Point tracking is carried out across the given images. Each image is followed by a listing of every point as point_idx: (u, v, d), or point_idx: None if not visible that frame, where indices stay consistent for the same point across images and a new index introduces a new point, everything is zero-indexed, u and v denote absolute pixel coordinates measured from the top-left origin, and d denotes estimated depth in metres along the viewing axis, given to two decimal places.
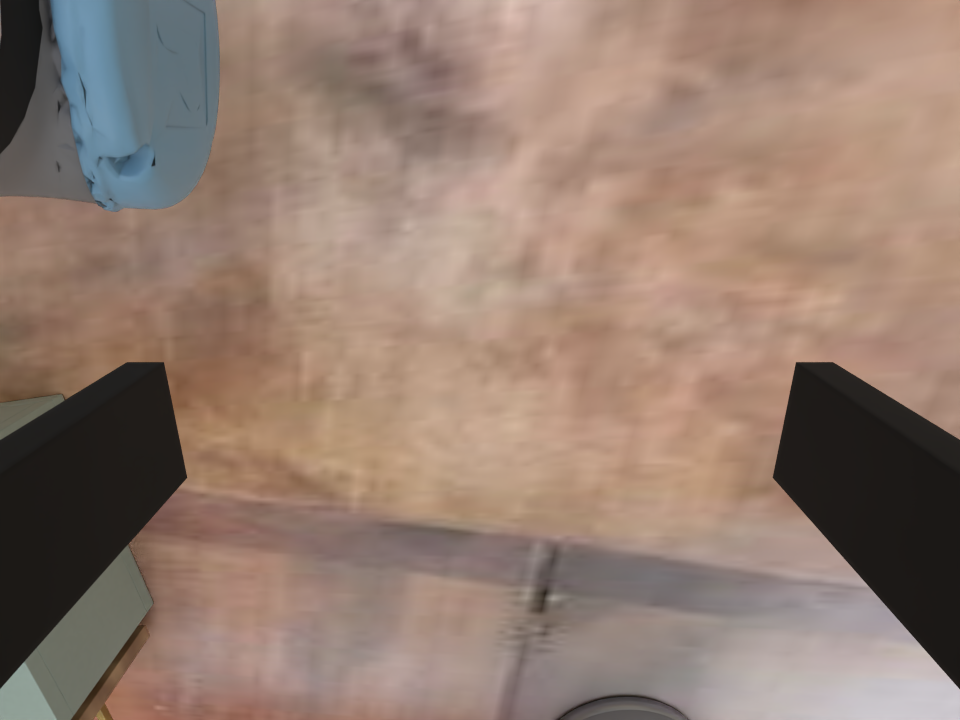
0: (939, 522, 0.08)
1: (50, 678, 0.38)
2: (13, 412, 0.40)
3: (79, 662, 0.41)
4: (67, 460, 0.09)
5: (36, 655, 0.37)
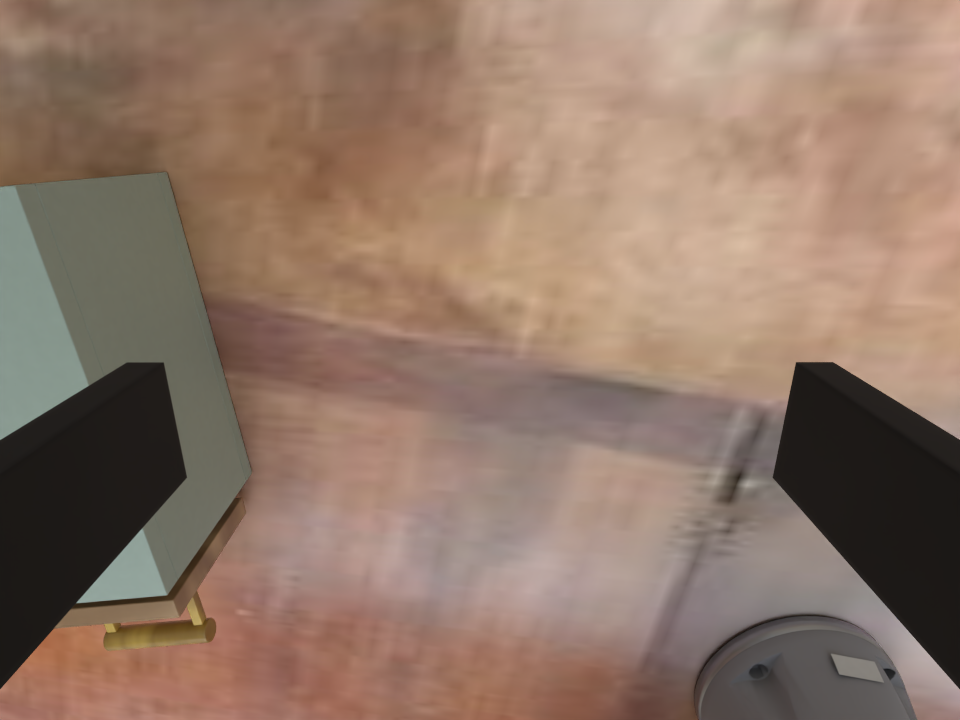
0: (939, 522, 0.08)
1: (154, 522, 0.28)
2: None
3: (184, 514, 0.31)
4: (67, 460, 0.09)
5: None
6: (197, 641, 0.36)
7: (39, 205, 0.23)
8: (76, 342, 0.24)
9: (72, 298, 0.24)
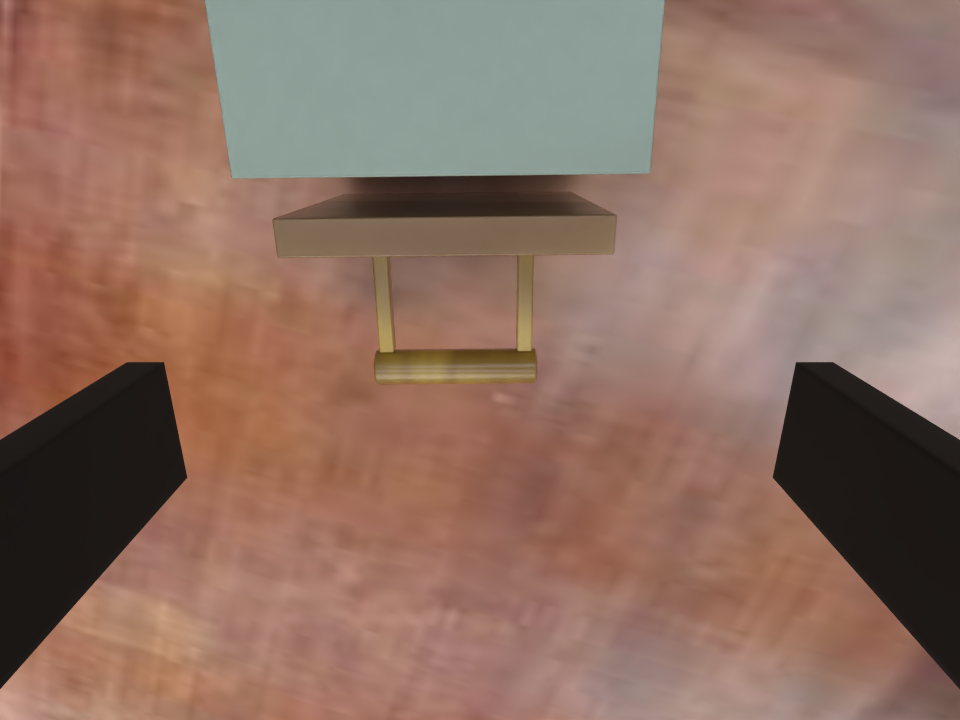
0: (939, 522, 0.08)
1: None
2: None
3: None
4: (67, 460, 0.09)
5: None
6: (522, 375, 0.23)
7: None
8: None
9: None
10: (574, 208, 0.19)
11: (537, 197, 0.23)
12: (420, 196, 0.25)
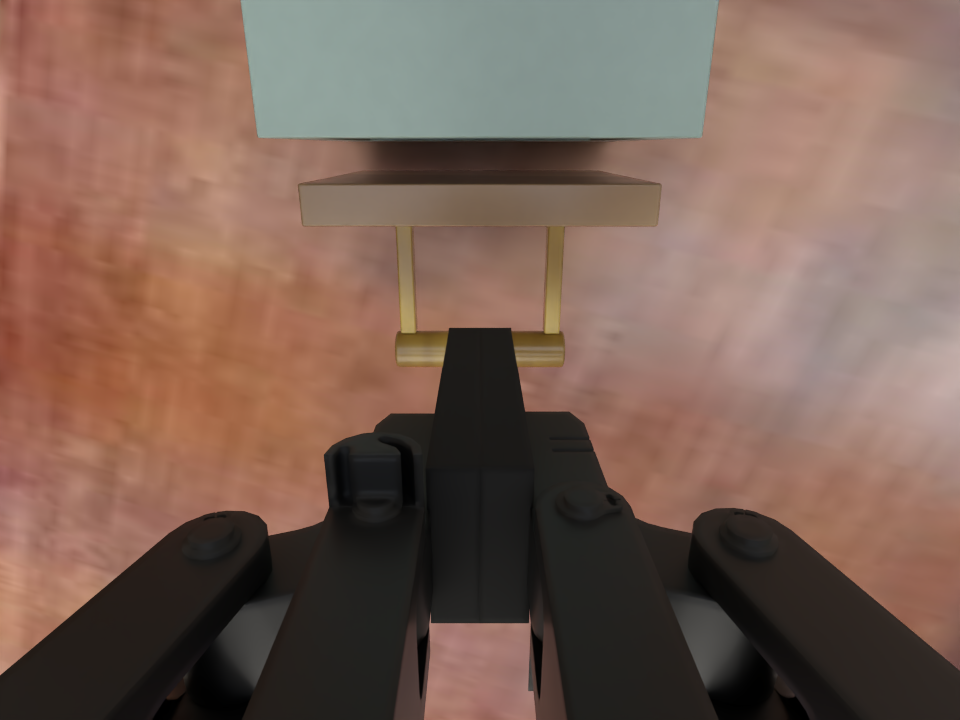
0: None
1: None
2: None
3: None
4: None
5: None
6: (549, 358, 0.23)
7: None
8: None
9: None
10: (613, 180, 0.18)
11: (567, 173, 0.22)
12: (444, 172, 0.24)
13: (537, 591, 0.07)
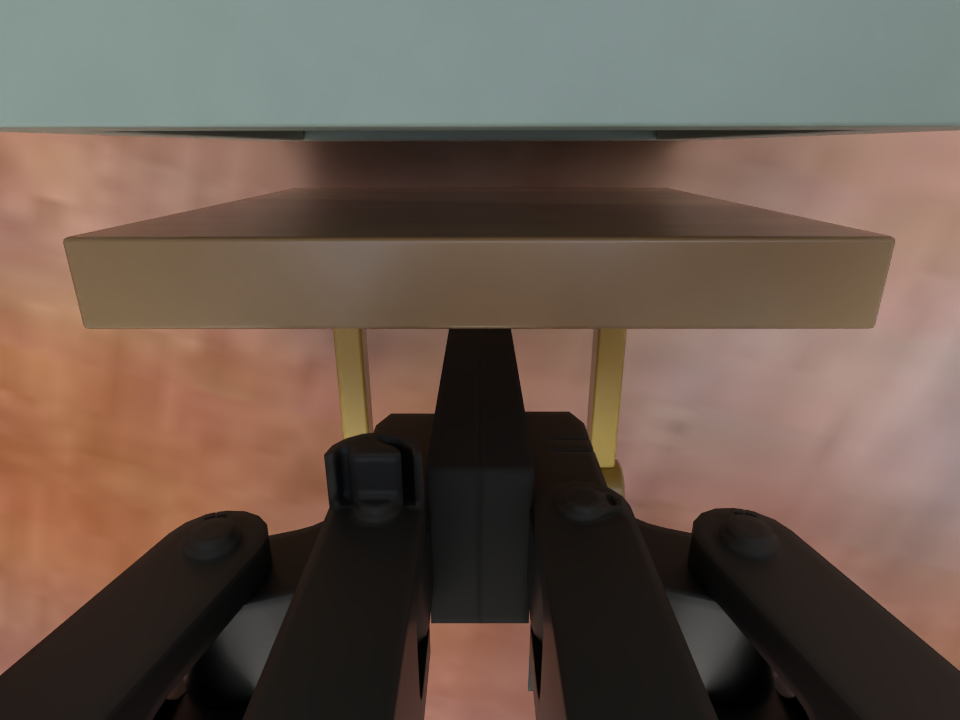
0: None
1: None
2: None
3: None
4: None
5: None
6: None
7: None
8: None
9: None
10: (750, 219, 0.09)
11: (627, 196, 0.13)
12: (420, 192, 0.14)
13: (537, 591, 0.07)
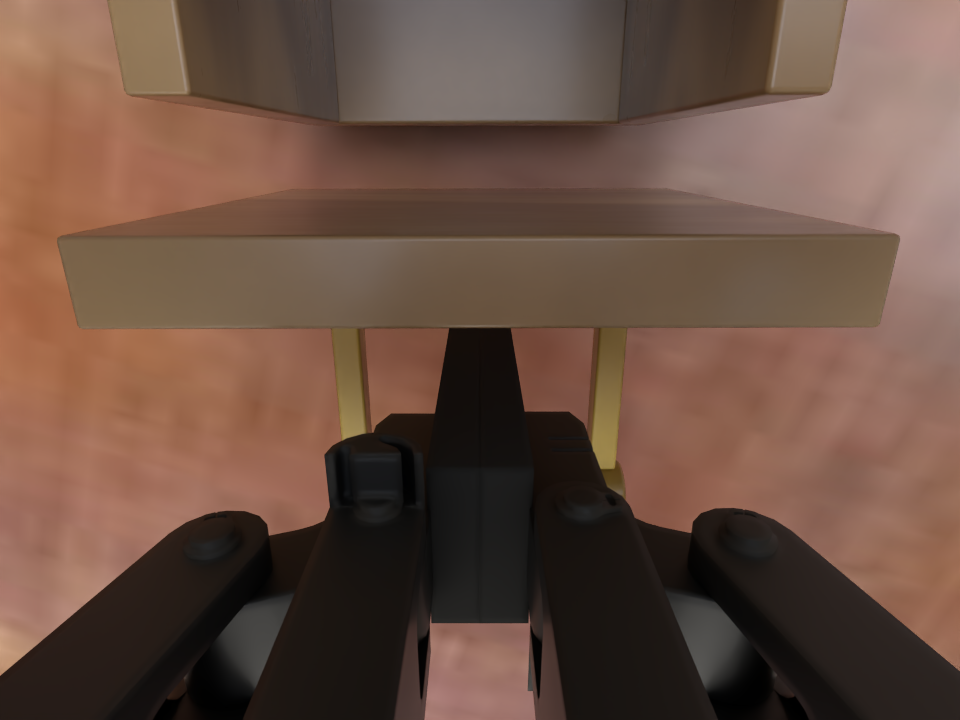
0: None
1: None
2: None
3: None
4: None
5: None
6: None
7: None
8: None
9: None
10: (753, 217, 0.09)
11: (627, 196, 0.13)
12: (419, 193, 0.14)
13: (537, 591, 0.07)
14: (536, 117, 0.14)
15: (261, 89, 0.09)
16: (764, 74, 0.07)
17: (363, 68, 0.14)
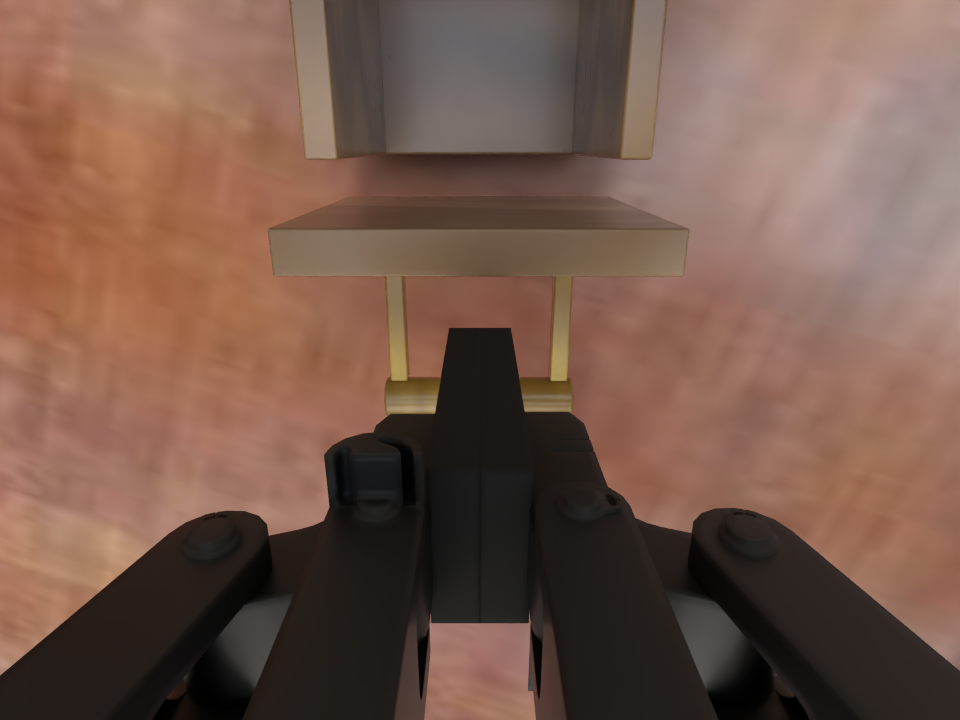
0: None
1: None
2: None
3: None
4: None
5: None
6: (556, 409, 0.20)
7: None
8: None
9: None
10: (630, 219, 0.16)
11: (575, 203, 0.20)
12: (439, 200, 0.21)
13: (537, 591, 0.07)
14: (517, 150, 0.21)
15: (357, 146, 0.16)
16: (619, 149, 0.14)
17: (402, 118, 0.21)
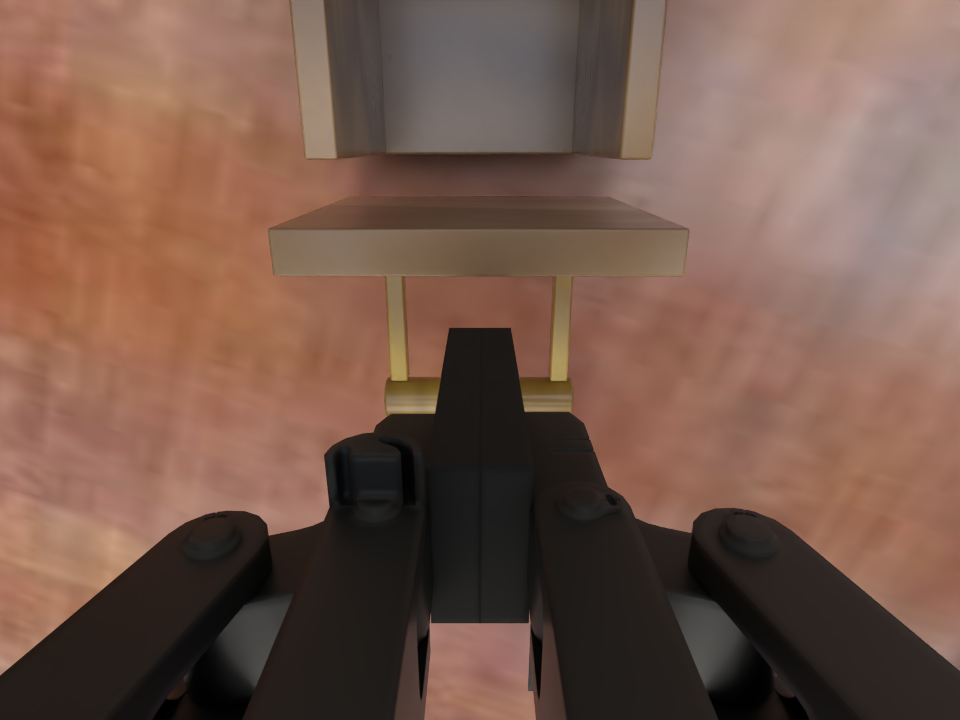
0: None
1: None
2: None
3: None
4: None
5: None
6: (556, 409, 0.20)
7: None
8: None
9: None
10: (630, 219, 0.16)
11: (575, 203, 0.20)
12: (439, 200, 0.21)
13: (537, 591, 0.07)
14: (517, 150, 0.21)
15: (357, 146, 0.16)
16: (619, 149, 0.14)
17: (402, 118, 0.21)
